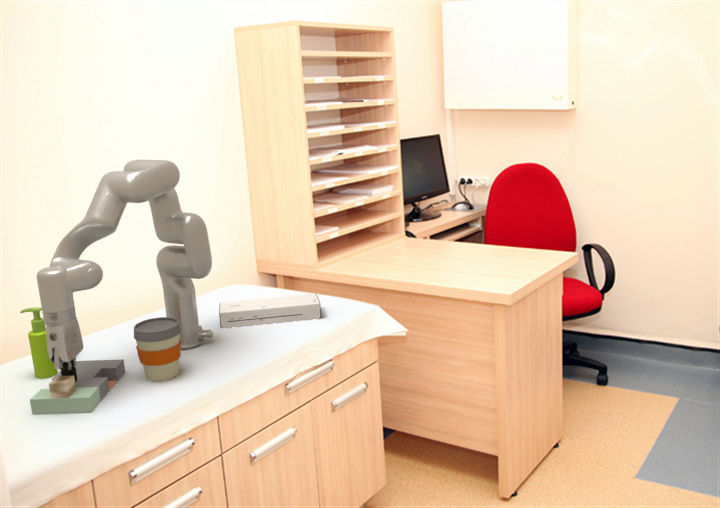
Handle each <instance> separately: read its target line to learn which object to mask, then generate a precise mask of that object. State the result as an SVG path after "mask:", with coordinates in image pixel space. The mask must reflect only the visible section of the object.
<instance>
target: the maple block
mask: <svg viewBox="0 0 720 508" xmlns="http://www.w3.org/2000/svg"><path fill="white" fill-rule="evenodd" d="M54 377H55V376H54ZM54 377H53V378H54ZM53 378H52V379H53ZM52 379H51V381H50V382H49V383H48V387H49V388H48V389H50V394H51V398H69V397H70V396H71V395H72V394H73V393H74V392H75V391H76V386H75V379H74V376H57V377H55V378H54V379H53V380H52Z"/></svg>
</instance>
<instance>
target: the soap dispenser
mask: <svg viewBox="0 0 720 508" xmlns="http://www.w3.org/2000/svg"><path fill="white" fill-rule="evenodd" d="M40 312H42V307H28V308H24V309H22V310H21V311H20V312H19V313H20V314H25V313H32V317H33V318H32V319H31V320H30V324H31V330H30V331H29V332H28V333H27V334H28V337H27V338H28V341H29V347H30V353H31V354H30V355H31V359H32V365H33V366H32V367H33V370H34V377H35V378H36V379H43V380H44V379H49V378H53V377H55V376H56V375H57V374H58V373H59V371H58V369H55V362H54V363H52V362H51V361H50V359H49V355H48V349H47V339H46V325H45V324H44V319H43V317H41V313H40Z"/></svg>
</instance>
